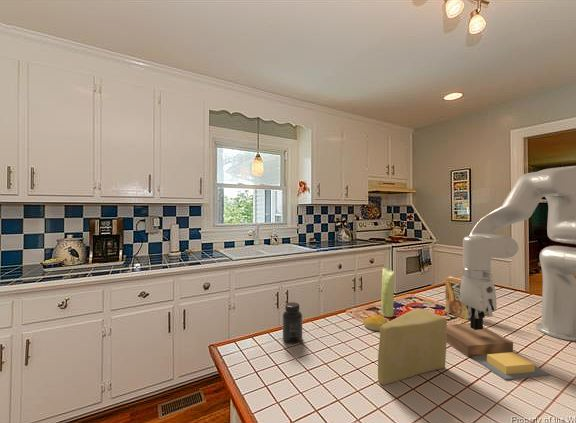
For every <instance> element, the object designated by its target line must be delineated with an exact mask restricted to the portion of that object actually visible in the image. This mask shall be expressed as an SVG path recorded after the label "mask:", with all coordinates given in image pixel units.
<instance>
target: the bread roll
mask: <svg viewBox="0 0 576 423" xmlns="http://www.w3.org/2000/svg"><path fill="white" fill-rule="evenodd" d="M362 322H363V325H364V327H365V328H366V329H368V330H371V331H376V332H380V329H381V326H382V325H383V324H385V323H387V322H388V319H386V318H385V316H383V315H381V314H373V315H370V316H367V317H365V318H364V319H363V321H362Z"/></svg>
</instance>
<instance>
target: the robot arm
mask: <svg viewBox="0 0 576 423" xmlns="http://www.w3.org/2000/svg"><path fill="white" fill-rule="evenodd" d="M544 197H545V198H544ZM542 198H544V199H546V202H547V206H548V207H547V208H548V210H547V223H546V224H547V226H546V230H547V237H548V238H549V239H550V240H551V241H554V242H557V243H558V242H559V243H563V244H571V245H576V165H571V166H561V167H560V166H559V167H551V168H550V167H549V168H545V169H542V170H538V171H533V172H528V173H524V174H522V175H521V176H519V177H518V178H517V180H516V181H515V183H514V185H513V186H512V188H511V189H510V191H509V193H508V194H507V196H506V197H505V199H504V201H503V203H502V205H500V206H499V207H497V208H496V209H494V210H492V211H491V212H490V213H488V214H486V215H485V216H483V217H482V218H480V219H479V220H478V222H477V223H476V224H475V225H474V227H473V228H472V230H471V231H470V233H469V235H466V236H465V237H464V238H463V240H462V276H461V278H460V279H461V286H460V299H461V302H462V304H463V306H465V307H466V308H467V309H468V312H469V315H470V318H469V319H470V327H471V328H472V329H474V330H481V329H483V327H484V319H485V318H486V317H487V318H490V317H494V315H493V312H496V311H497V292H496V288H495V283H494V280H493V274H492V272H491V270H492V267H491V266H492V265H491V264H492V259H493V258H494V259H503V260H505V259H510V258H513V257H515V255H516V254H517V253H518V250H519V245H518V242H517V241H516V240H515V239H514V238H513V237H511V236H508V235H505V234H504V235H503V234H493V233H494V232H496V231H497V230H499V229H501V228H504V227H506V226H509V225H514V224H517V223H521V222H524V221H525V220H528V219H530V218H531V217H532V215H533V213H534V212H535V211H536V209H537V207H538V205H539V203H540V202H541V200H542ZM539 263H540V268H541V274H542V295H541V297H542V298H541V300H542V301H541V322H538V323H536V324H535V328H536V329H537V330H538V331H539V332H541V333H542V334H546V335H548V336H550V337H552V338H553V337H554V338H556V339H560V340H566V341H570V342H572V341H573V342H576V277H575V276H576V247H570V246H563V245H549V246H546V247H544V248H543V249H541V250H540V252H539Z"/></svg>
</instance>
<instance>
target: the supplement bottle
mask: <svg viewBox="0 0 576 423" xmlns="http://www.w3.org/2000/svg"><path fill="white" fill-rule="evenodd" d="M284 309H285V311H284V312H283V313H282V339H283V341H284V342H285V343H288V344H297V343H300V342H301V341H302V340H303V313H302V312H301V311H300V304H299V303H298V302H296V301H295V302H293V301H292V302H291V301H290V302H286V303H285V308H284Z"/></svg>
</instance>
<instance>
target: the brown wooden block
mask: <svg viewBox="0 0 576 423" xmlns="http://www.w3.org/2000/svg"><path fill="white" fill-rule="evenodd" d="M446 344H448V345H449V346H451V347H452V348H454V349H455V350H456V351H458V352H459V353H461V354H463V356H465V357H466V358H472V356H482V355H487V354H497V353H510V352H514V342H513V341H512V340H510V339H508V338H506V337H504V336H502V335H501V334H498V333H497V332H495V331H492V330H491V329H489V328H486V327H484V326H483V329H481V330H474V329H472V328H471V327H470V323H469V322H468V323H455V324H454V323H453V324H447V343H446Z"/></svg>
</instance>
